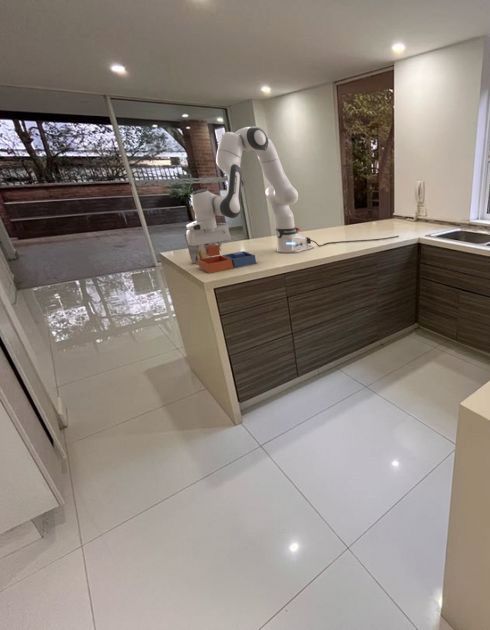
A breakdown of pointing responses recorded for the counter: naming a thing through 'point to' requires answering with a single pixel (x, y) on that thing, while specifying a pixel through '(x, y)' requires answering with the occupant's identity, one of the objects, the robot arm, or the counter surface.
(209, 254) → the clay block
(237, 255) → the blue block
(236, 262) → the blue bin
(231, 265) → the clay bin
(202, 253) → the coffee box
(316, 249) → the counter surface
